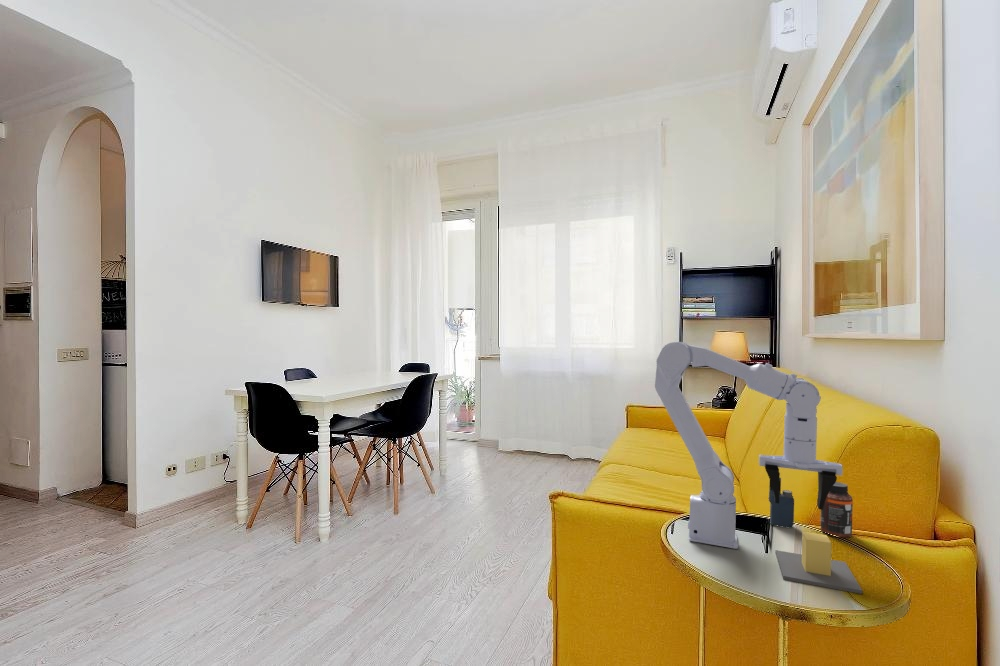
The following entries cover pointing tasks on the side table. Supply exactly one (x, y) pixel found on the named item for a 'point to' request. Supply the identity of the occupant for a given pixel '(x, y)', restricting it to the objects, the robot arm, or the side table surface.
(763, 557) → the side table surface
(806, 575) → the charcoal mat
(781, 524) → the vaping device
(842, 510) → the supplement bottle
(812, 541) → the mustard block
